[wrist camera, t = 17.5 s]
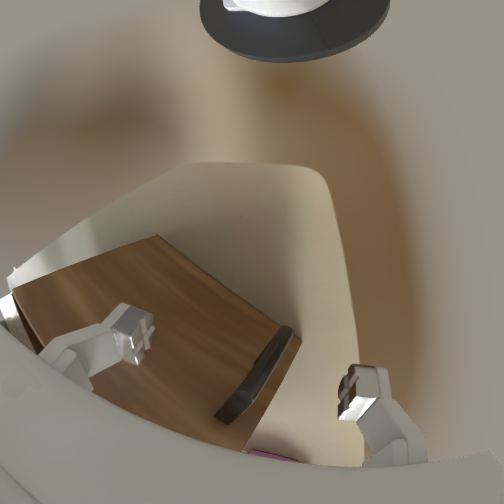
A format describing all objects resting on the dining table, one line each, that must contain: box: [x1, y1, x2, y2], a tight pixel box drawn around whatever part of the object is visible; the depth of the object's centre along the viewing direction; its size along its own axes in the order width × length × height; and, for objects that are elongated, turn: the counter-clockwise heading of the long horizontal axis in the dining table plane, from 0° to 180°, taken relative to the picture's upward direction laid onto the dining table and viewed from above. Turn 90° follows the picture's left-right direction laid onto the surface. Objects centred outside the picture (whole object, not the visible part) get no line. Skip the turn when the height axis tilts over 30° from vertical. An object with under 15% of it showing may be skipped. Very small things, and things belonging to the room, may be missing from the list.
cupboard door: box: [12, 235, 302, 452], centre depth 26 cm, size 7×26×24 cm, turn 63°
